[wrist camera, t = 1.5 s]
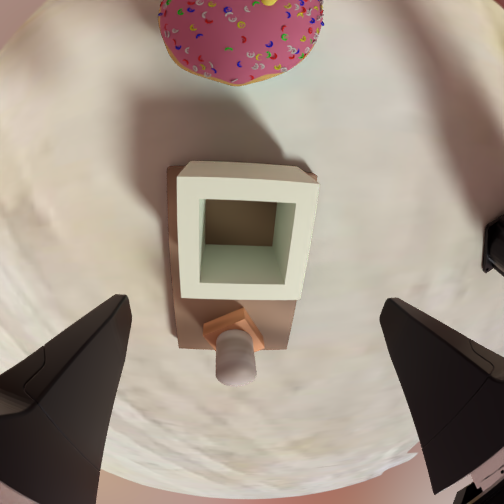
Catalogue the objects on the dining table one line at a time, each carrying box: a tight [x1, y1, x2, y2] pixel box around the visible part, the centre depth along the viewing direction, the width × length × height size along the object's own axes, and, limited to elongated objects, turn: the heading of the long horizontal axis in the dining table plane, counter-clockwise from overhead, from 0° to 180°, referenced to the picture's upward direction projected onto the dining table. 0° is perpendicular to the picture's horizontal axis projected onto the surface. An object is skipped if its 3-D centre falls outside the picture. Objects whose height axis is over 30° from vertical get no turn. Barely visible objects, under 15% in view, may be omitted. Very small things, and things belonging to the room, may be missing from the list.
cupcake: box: [158, 0, 324, 86], centre depth 9 cm, size 9×8×12 cm
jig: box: [167, 166, 317, 386], centre depth 20 cm, size 16×10×6 cm, turn 176°
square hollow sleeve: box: [177, 161, 320, 300], centre depth 17 cm, size 7×7×5 cm
